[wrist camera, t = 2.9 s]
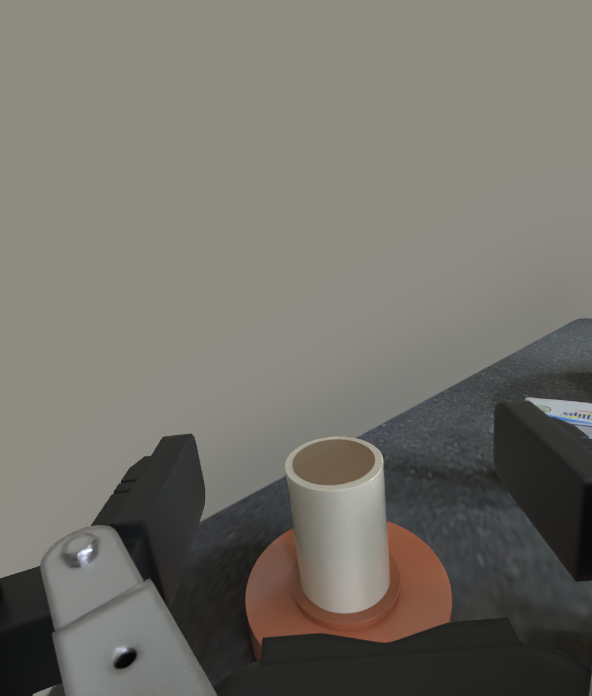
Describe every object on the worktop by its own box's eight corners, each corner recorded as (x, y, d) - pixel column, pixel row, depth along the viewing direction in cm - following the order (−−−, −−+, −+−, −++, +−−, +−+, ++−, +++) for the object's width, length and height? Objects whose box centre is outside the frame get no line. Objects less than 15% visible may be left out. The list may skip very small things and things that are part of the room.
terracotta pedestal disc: (240, 739, 25) (228, 686, 24) (261, 556, 38) (254, 516, 37) (487, 723, 24) (489, 667, 23) (421, 542, 38) (419, 501, 37)
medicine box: (612, 487, 42) (621, 404, 39) (617, 516, 38) (628, 427, 36) (519, 471, 46) (523, 395, 43) (516, 495, 42) (519, 414, 40)
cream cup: (300, 617, 27) (282, 494, 25) (300, 545, 33) (286, 440, 31) (399, 609, 27) (392, 484, 24) (381, 538, 33) (374, 431, 30)
